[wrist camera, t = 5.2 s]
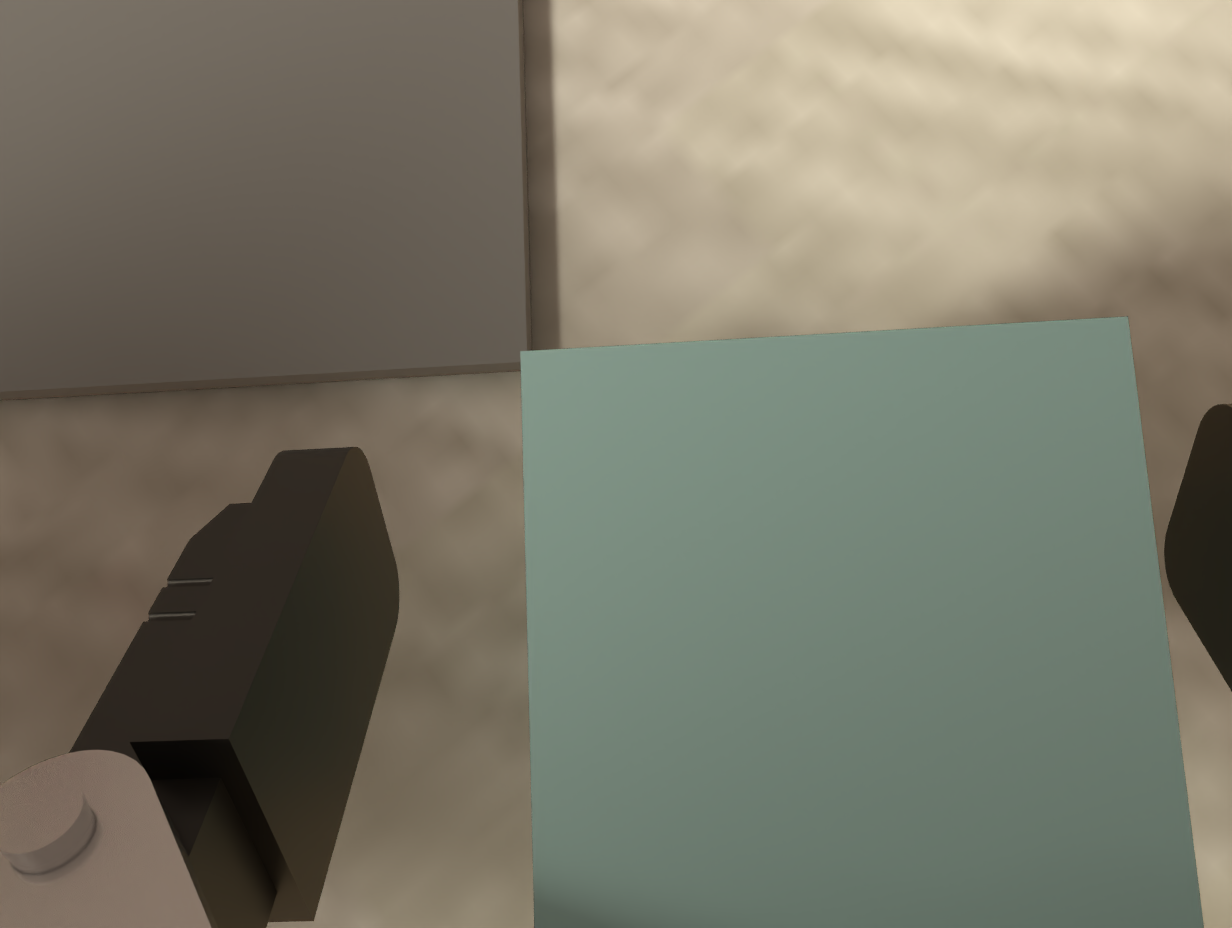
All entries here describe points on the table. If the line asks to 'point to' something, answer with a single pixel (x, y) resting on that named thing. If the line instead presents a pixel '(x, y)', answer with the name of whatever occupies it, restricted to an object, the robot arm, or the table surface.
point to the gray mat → (260, 193)
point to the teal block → (850, 635)
